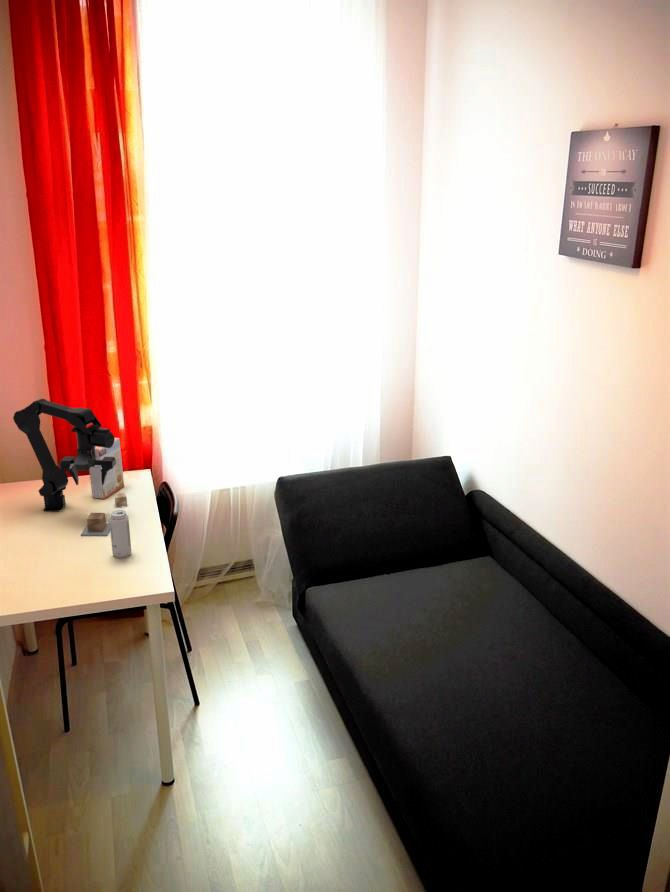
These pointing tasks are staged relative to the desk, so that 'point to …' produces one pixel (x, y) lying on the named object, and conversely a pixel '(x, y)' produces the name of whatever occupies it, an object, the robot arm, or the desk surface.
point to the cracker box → (113, 476)
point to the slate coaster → (104, 533)
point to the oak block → (120, 499)
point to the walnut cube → (96, 522)
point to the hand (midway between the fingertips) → (90, 484)
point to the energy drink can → (120, 534)
